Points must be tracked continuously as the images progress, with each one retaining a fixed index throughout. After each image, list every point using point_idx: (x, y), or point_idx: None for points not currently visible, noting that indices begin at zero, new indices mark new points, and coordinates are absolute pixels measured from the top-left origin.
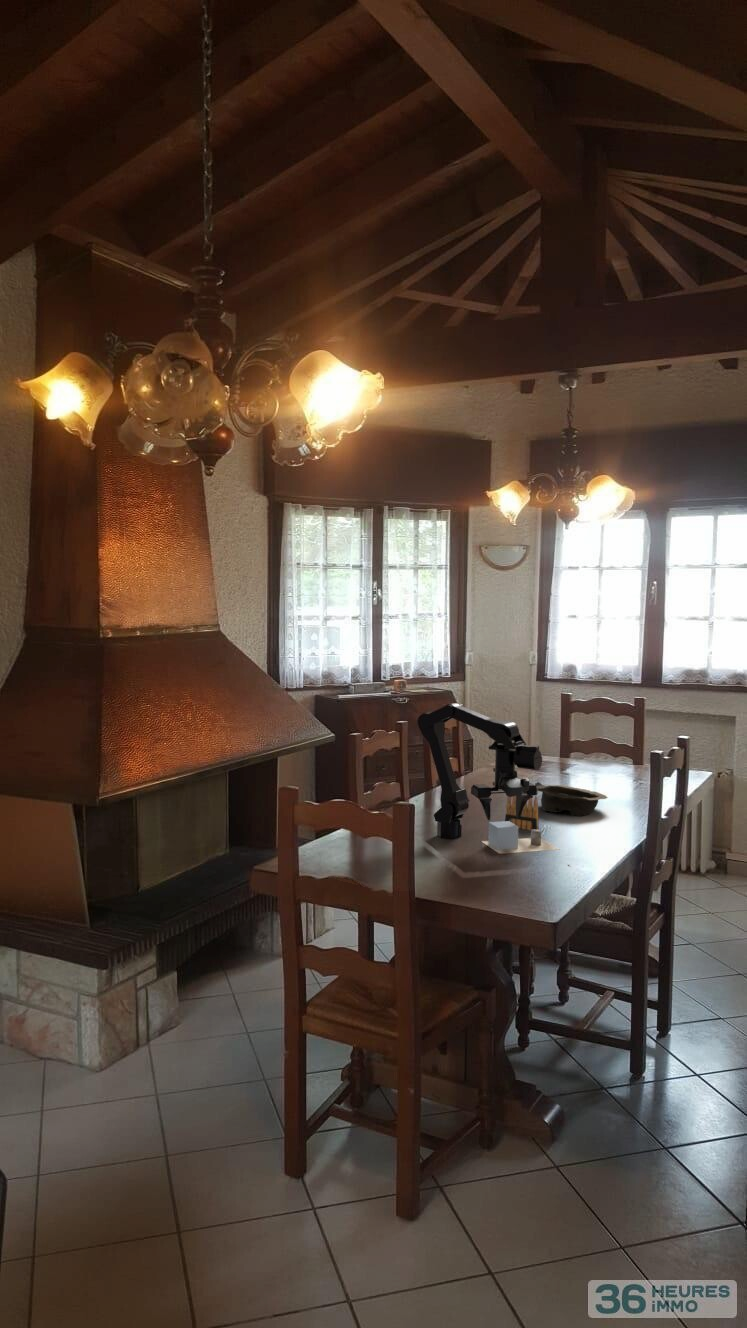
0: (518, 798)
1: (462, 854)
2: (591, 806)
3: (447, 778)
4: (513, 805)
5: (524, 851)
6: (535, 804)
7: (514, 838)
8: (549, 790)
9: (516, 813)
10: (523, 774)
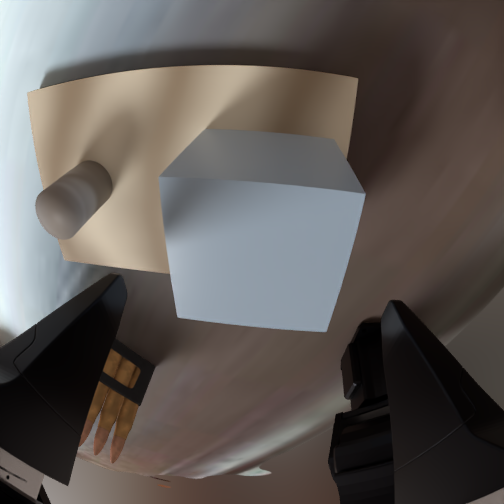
0: (51, 435)
1: (465, 195)
2: None
3: None
4: (109, 420)
5: (192, 70)
6: None
7: (215, 146)
8: None
9: (115, 323)
10: (88, 454)
